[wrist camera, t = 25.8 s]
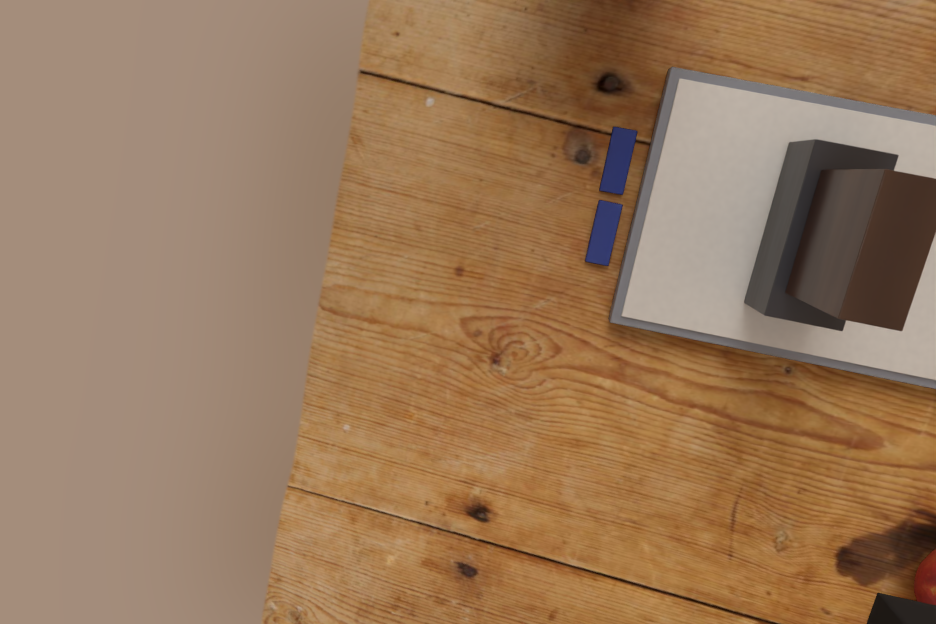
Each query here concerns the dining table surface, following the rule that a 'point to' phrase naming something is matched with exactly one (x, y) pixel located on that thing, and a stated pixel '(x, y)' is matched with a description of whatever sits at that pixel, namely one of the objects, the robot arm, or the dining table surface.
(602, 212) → the smudge
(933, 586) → the fruit
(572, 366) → the dining table surface
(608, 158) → the blue flat block
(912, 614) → the robot arm
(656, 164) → the whiteboard
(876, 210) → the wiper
